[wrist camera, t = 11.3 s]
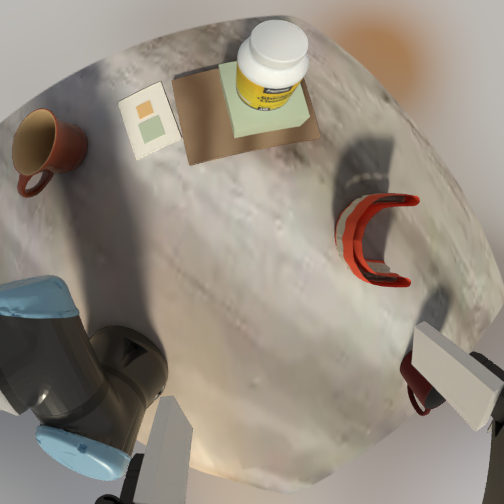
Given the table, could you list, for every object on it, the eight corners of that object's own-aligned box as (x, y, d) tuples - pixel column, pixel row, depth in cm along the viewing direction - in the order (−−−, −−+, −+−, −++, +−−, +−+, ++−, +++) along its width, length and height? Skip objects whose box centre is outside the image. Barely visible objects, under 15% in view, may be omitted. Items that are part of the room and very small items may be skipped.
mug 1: (67, 116, 31) (29, 101, 21) (103, 133, 33) (68, 118, 23) (38, 184, 33) (-3, 185, 23) (71, 205, 34) (31, 211, 24)
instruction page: (136, 160, 34) (136, 159, 34) (118, 102, 32) (117, 102, 32) (181, 138, 34) (181, 138, 34) (160, 81, 32) (160, 81, 31)
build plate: (190, 165, 35) (189, 164, 34) (173, 83, 32) (171, 80, 31) (318, 139, 35) (320, 137, 34) (295, 60, 32) (296, 57, 31)
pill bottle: (241, 117, 28) (246, 76, 17) (231, 70, 27) (230, 16, 15) (296, 109, 28) (328, 69, 17) (284, 63, 27) (307, 11, 16)
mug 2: (415, 387, 47) (440, 415, 36) (385, 392, 46) (409, 425, 35) (435, 341, 44) (466, 367, 34) (405, 344, 44) (437, 374, 33)
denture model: (328, 187, 37) (351, 187, 29) (389, 193, 37) (419, 195, 30) (323, 274, 39) (343, 292, 32) (382, 272, 40) (410, 288, 32)
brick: (234, 138, 33) (234, 129, 28) (220, 80, 31) (218, 64, 26) (300, 126, 33) (310, 116, 29) (283, 69, 32) (290, 54, 27)
